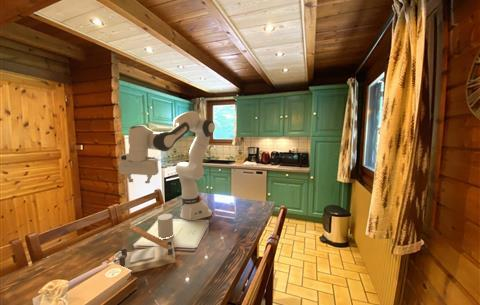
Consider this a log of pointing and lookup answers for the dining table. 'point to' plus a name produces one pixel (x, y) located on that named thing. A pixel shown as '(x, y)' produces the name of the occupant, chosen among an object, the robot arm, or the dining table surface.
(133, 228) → the brown wooden bar
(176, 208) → the dining table surface
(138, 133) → the robot arm
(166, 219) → the cup
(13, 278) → the dining table surface
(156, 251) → the latch board
